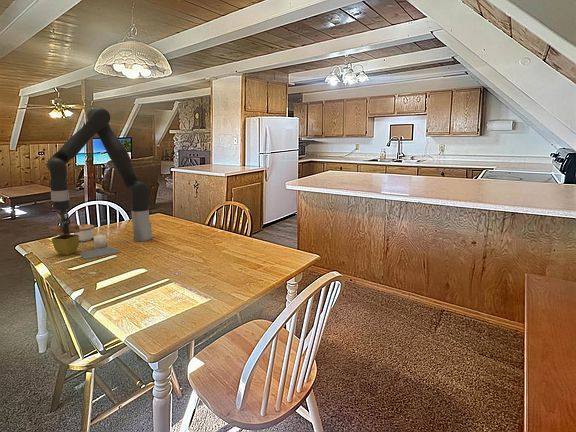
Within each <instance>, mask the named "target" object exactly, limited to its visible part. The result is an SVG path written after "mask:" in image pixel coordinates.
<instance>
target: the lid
mask: <svg viewBox="0 0 576 432" xmlns="http://www.w3.org/2000/svg"><path fill="white" fill-rule="evenodd" d="M69 224H70V225H69V226H68V228H69V233H68V234H74V233H77V232H80V230H79V225H80V224H78V223H76V222H75V223H74V222H73V223H69ZM48 232H49V235H50V236H51V237H57V236H60V235H65V234H64V231H63V226H62V225H60V224H59V225H54V226H48Z"/></svg>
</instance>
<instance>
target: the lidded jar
mask: <svg viewBox="0 0 576 432" xmlns="http://www.w3.org/2000/svg"><path fill="white" fill-rule="evenodd" d="M78 225H79V230H80V232H77V233H73V234H74V235H79V242H89V241H91V240H92V238H94V237H93V236H95V225H94V224H85V223H81V224H78Z"/></svg>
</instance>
